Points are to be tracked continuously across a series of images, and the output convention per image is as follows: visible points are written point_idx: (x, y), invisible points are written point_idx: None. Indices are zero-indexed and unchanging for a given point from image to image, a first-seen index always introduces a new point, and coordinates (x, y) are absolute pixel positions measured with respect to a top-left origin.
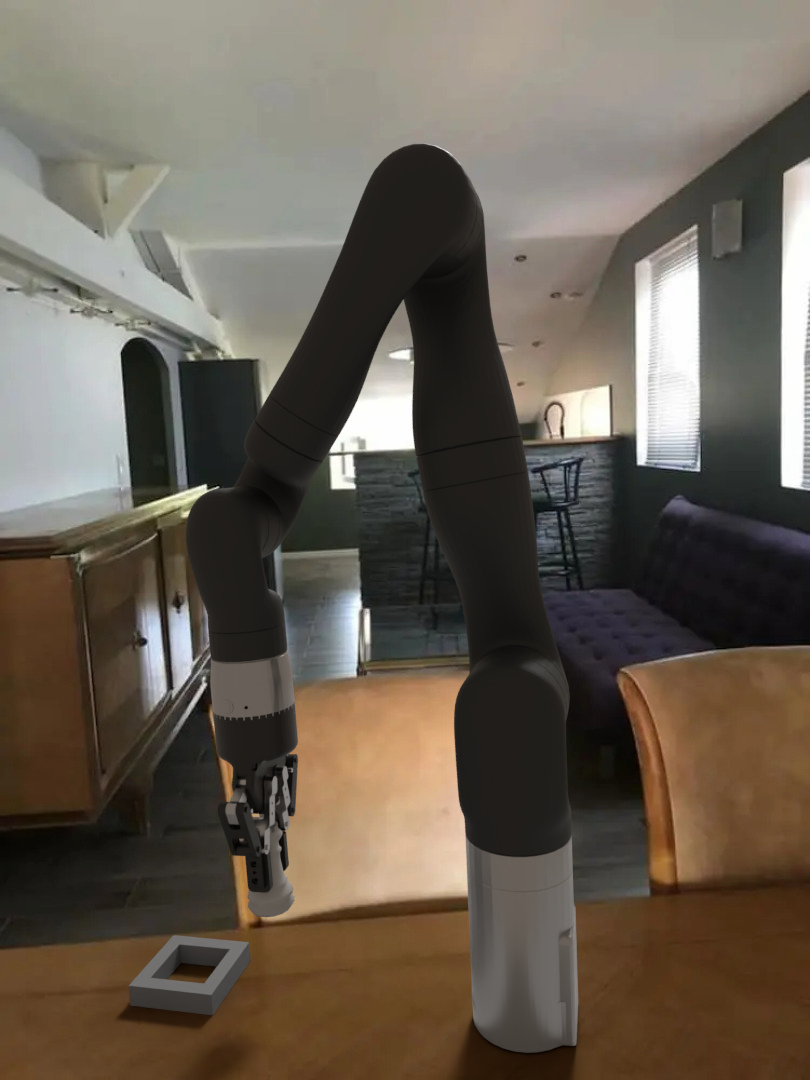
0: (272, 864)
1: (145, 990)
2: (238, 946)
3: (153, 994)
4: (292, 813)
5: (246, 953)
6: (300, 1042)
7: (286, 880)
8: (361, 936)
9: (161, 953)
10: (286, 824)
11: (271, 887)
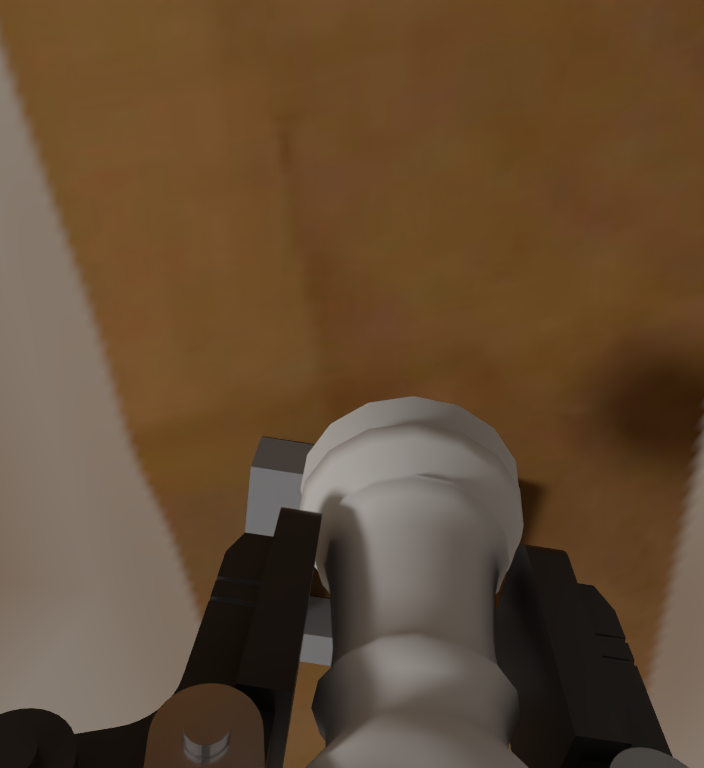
0: (480, 625)
1: None
2: (274, 490)
3: None
4: (43, 742)
5: (277, 458)
6: (634, 222)
7: (415, 484)
8: (86, 110)
9: (318, 655)
10: (225, 736)
11: (546, 549)
